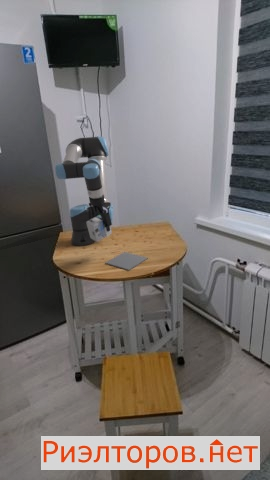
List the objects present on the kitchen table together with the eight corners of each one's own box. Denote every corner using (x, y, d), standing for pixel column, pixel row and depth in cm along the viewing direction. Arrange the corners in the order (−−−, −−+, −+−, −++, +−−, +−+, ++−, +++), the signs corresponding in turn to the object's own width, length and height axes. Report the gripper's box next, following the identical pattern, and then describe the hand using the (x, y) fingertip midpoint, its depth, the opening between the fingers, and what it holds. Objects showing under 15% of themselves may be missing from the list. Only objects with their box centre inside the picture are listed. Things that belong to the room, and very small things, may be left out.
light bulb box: (93, 225, 142) (109, 216, 147) (85, 221, 146) (101, 212, 151) (97, 242, 148) (112, 233, 154) (89, 238, 152) (105, 228, 158)
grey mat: (105, 263, 148) (105, 262, 148) (124, 252, 160) (124, 251, 159) (129, 270, 139) (129, 269, 138) (147, 258, 150) (147, 257, 150)
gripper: (78, 193, 144) (87, 230, 158) (102, 204, 132) (110, 243, 146) (90, 187, 148) (98, 224, 162) (114, 197, 136) (121, 236, 150)
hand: (104, 232), depth 154 cm, fingers closed on light bulb box, 7 cm apart
